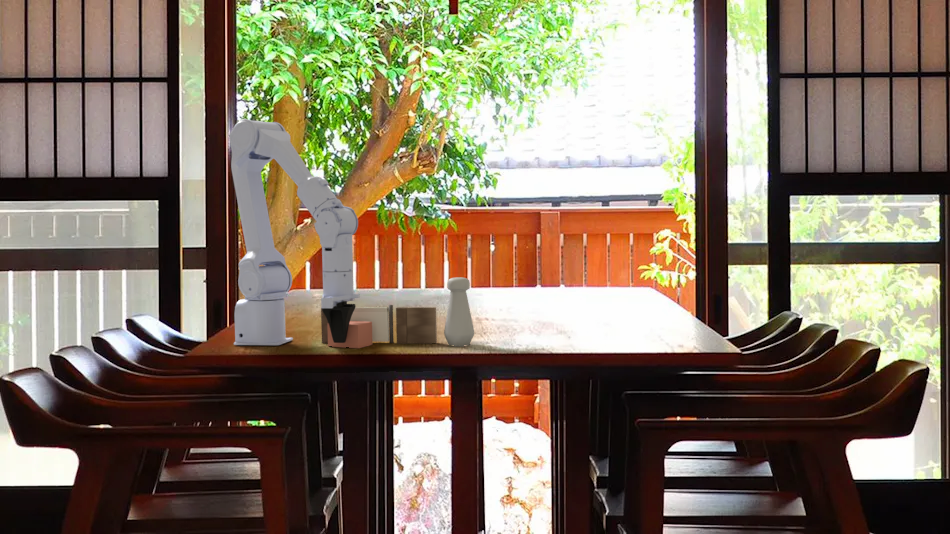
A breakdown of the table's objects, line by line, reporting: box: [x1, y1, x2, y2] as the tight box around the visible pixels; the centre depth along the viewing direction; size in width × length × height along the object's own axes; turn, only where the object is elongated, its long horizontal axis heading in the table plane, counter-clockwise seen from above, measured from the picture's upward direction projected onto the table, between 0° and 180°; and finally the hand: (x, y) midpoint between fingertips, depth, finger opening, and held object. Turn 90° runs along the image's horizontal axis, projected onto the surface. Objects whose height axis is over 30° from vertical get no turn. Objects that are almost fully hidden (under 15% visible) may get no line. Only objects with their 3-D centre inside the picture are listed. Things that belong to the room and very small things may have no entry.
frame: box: [320, 304, 438, 345], centre depth 185 cm, size 23×2×8 cm, turn 81°
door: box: [350, 306, 390, 343], centre depth 186 cm, size 11×1×7 cm, turn 81°
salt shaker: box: [443, 276, 475, 347], centre depth 180 cm, size 6×6×13 cm
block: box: [327, 321, 373, 349], centre depth 182 cm, size 7×5×4 cm
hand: (339, 342), depth 178 cm, fingers closed
